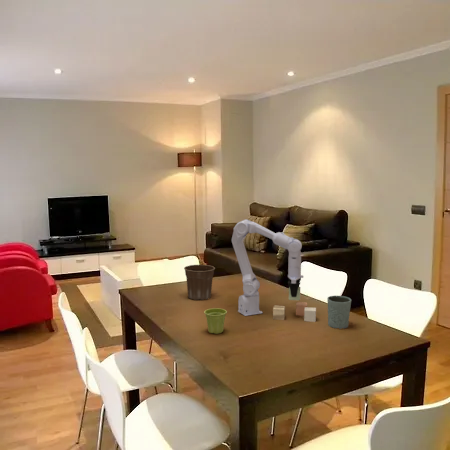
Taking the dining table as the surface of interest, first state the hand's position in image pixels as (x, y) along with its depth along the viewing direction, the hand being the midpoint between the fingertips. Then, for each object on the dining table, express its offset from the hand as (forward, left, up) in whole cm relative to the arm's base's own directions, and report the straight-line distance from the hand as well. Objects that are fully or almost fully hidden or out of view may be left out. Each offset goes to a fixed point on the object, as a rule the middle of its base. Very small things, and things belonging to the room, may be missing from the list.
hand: (294, 295), depth 212 cm
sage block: (0, 0, -2) cm, 2 cm away
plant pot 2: (-41, -3, -10) cm, 42 cm away
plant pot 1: (-27, +48, -10) cm, 56 cm away
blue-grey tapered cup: (+10, -20, -10) cm, 24 cm away
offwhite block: (+4, -8, -10) cm, 13 cm away
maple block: (-8, +1, -10) cm, 13 cm away
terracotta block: (+5, +1, -10) cm, 11 cm away
